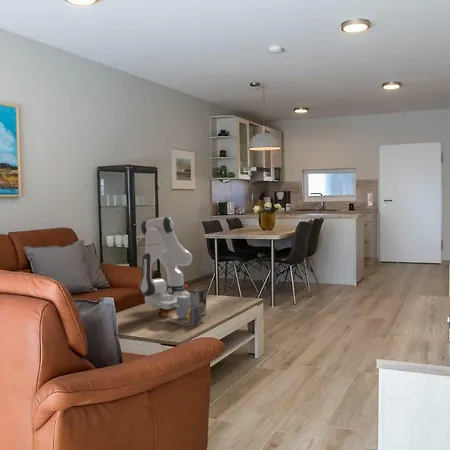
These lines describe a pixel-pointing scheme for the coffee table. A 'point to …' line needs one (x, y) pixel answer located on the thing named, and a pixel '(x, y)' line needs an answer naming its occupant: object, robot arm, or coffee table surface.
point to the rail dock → (184, 320)
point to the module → (183, 306)
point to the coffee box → (198, 299)
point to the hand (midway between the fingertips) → (184, 305)
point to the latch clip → (189, 315)
